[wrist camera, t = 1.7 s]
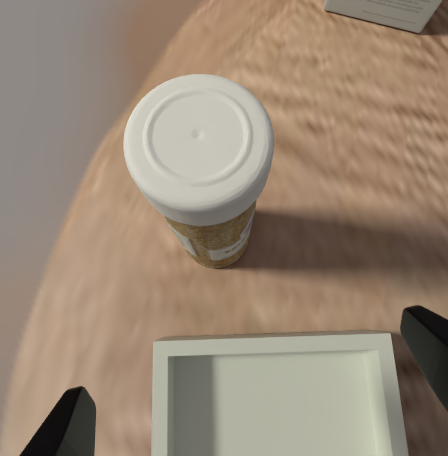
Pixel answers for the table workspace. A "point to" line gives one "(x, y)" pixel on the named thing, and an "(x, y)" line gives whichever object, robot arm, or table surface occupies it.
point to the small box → (387, 11)
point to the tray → (277, 395)
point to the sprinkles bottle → (202, 161)
